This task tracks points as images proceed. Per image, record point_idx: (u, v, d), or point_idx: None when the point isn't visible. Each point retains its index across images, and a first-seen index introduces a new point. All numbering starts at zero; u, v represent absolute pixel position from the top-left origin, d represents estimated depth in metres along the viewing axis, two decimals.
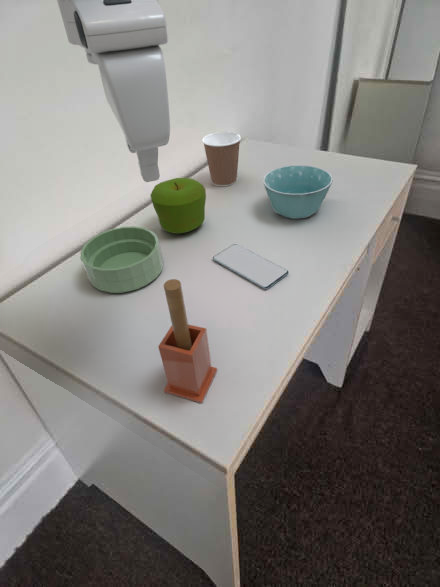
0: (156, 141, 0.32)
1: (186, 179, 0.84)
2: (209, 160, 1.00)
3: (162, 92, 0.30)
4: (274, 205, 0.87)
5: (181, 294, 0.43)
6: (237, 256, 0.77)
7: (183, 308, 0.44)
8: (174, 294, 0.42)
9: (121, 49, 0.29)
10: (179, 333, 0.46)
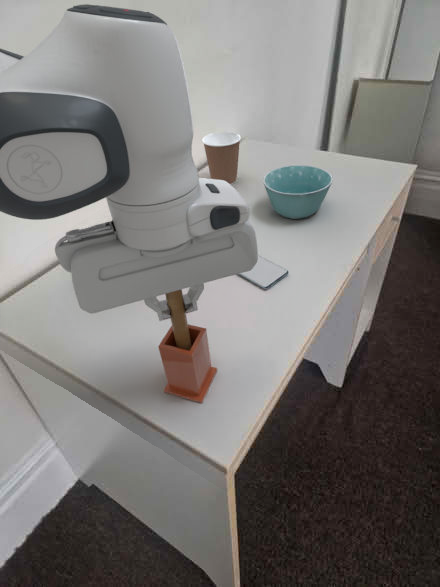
0: None
1: None
2: (209, 160, 1.00)
3: None
4: (274, 205, 0.87)
5: (181, 294, 0.43)
6: None
7: (183, 308, 0.44)
8: (174, 294, 0.42)
9: None
10: (178, 333, 0.46)
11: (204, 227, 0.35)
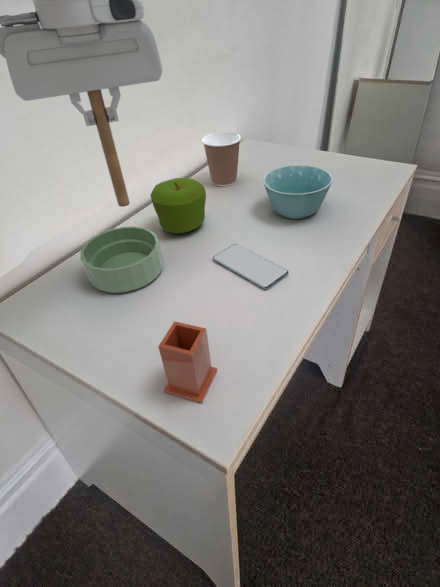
0: None
1: (186, 179, 0.84)
2: (209, 160, 1.00)
3: None
4: (274, 205, 0.87)
5: (102, 100, 0.54)
6: (237, 256, 0.77)
7: (105, 115, 0.55)
8: (95, 97, 0.53)
9: None
10: (105, 143, 0.57)
11: (105, 14, 0.46)
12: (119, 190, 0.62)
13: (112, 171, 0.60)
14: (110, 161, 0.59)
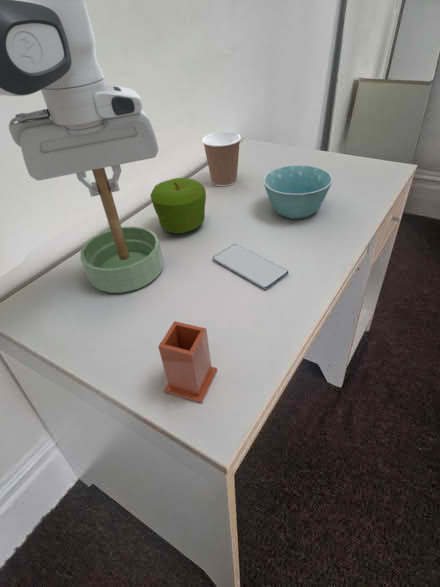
0: None
1: (186, 179, 0.84)
2: (209, 160, 1.00)
3: None
4: (274, 205, 0.87)
5: (104, 174, 0.60)
6: (237, 256, 0.77)
7: (108, 187, 0.62)
8: (99, 173, 0.60)
9: None
10: (107, 209, 0.64)
11: (108, 111, 0.52)
12: (120, 247, 0.69)
13: (114, 231, 0.67)
14: (112, 224, 0.66)
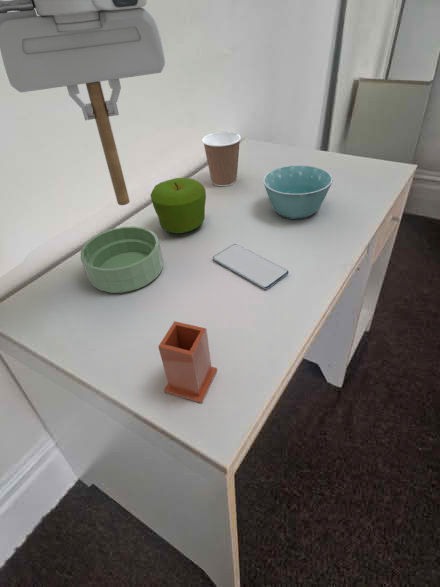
0: None
1: (186, 179, 0.84)
2: (209, 160, 1.00)
3: None
4: (274, 205, 0.87)
5: (101, 92, 0.51)
6: (237, 256, 0.77)
7: (105, 109, 0.52)
8: (94, 89, 0.50)
9: None
10: (104, 138, 0.54)
11: (106, 0, 0.43)
12: (118, 188, 0.60)
13: (111, 168, 0.57)
14: (109, 157, 0.56)
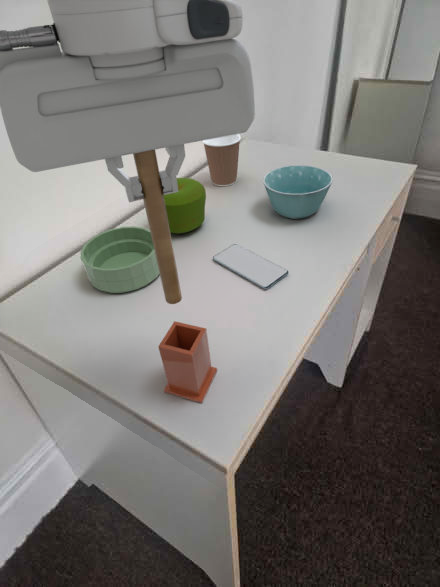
0: None
1: (186, 179, 0.84)
2: (209, 160, 1.00)
3: None
4: (274, 205, 0.87)
5: (155, 163, 0.33)
6: (237, 256, 0.77)
7: (159, 186, 0.35)
8: (146, 160, 0.33)
9: None
10: (155, 224, 0.37)
11: (179, 29, 0.25)
12: (170, 285, 0.42)
13: (162, 261, 0.40)
14: (161, 248, 0.39)
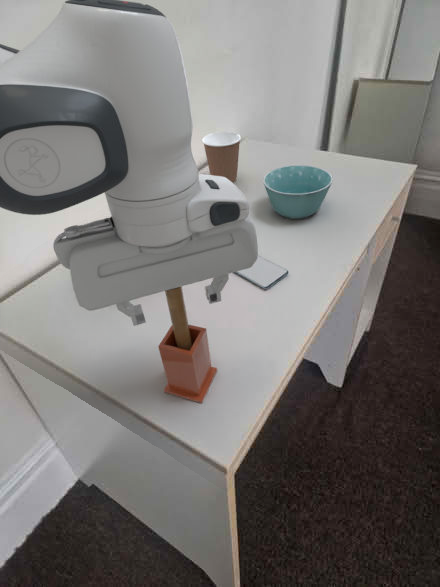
0: None
1: None
2: (209, 160, 1.00)
3: None
4: (274, 205, 0.87)
5: (181, 294, 0.43)
6: None
7: (183, 308, 0.44)
8: (175, 294, 0.42)
9: None
10: (179, 333, 0.46)
11: (204, 223, 0.35)
12: None
13: None
14: (183, 348, 0.48)
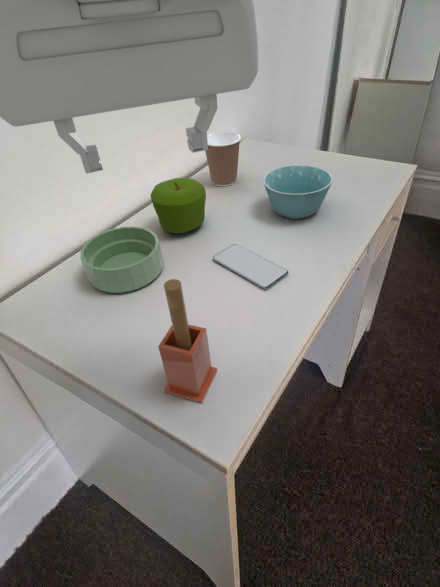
0: None
1: (186, 179, 0.84)
2: (209, 160, 1.00)
3: None
4: (274, 205, 0.87)
5: (181, 294, 0.43)
6: (237, 256, 0.77)
7: (183, 308, 0.44)
8: (175, 294, 0.42)
9: None
10: (179, 333, 0.46)
11: None
12: None
13: None
14: (183, 348, 0.48)
